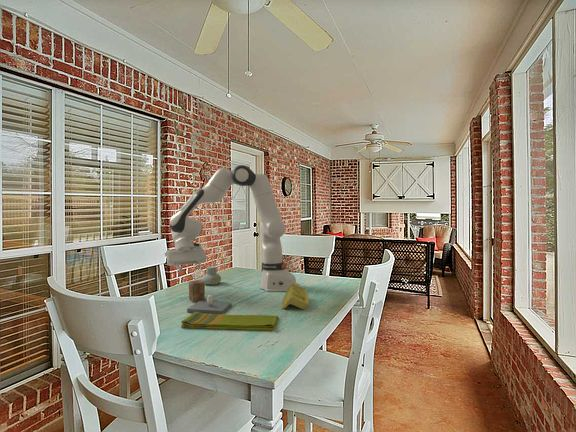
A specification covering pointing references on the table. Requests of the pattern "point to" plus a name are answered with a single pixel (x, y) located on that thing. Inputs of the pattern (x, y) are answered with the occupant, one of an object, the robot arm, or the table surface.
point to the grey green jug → (211, 276)
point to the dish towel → (230, 322)
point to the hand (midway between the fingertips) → (190, 269)
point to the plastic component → (296, 297)
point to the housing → (196, 291)
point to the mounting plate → (209, 306)
